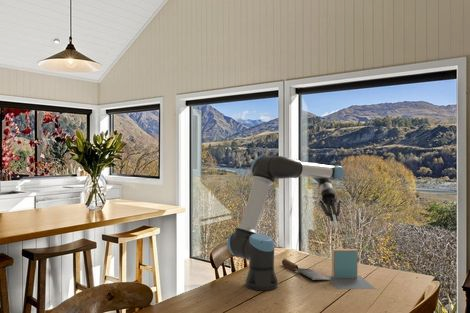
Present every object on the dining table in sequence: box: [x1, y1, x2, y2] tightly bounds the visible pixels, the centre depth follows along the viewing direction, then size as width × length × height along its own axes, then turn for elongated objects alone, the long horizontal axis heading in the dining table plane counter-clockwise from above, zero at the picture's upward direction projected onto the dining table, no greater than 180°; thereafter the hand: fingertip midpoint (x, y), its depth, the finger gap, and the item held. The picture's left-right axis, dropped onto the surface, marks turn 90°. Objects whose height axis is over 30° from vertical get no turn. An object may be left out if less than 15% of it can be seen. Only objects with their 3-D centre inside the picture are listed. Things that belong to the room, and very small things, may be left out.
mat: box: [325, 275, 376, 290], centre depth 189 cm, size 18×20×1 cm
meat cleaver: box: [281, 258, 331, 281], centre depth 205 cm, size 34×11×4 cm, turn 20°
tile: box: [331, 248, 359, 278], centre depth 196 cm, size 12×3×14 cm, turn 92°
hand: (335, 225), depth 212 cm, fingers closed
